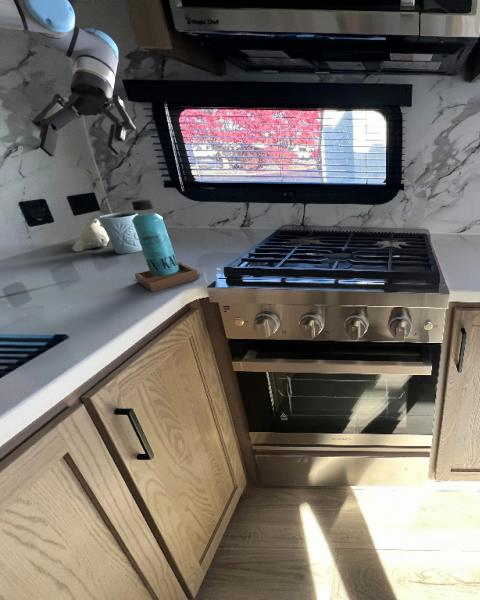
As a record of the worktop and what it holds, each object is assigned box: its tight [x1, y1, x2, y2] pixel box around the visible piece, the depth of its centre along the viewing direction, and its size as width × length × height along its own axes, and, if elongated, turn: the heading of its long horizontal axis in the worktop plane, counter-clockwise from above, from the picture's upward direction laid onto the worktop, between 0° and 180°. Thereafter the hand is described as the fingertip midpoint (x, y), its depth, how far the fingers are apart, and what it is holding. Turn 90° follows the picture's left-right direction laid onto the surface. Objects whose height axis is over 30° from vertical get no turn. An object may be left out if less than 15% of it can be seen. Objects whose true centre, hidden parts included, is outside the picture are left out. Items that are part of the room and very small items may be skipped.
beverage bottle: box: [131, 199, 179, 276], centre depth 84 cm, size 6×7×20 cm
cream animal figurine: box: [71, 218, 110, 253], centre depth 118 cm, size 15×7×15 cm
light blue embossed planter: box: [99, 211, 143, 255], centre depth 112 cm, size 10×10×12 cm
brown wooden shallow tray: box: [134, 262, 200, 293], centre depth 88 cm, size 11×11×2 cm
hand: (80, 151), depth 77 cm, fingers open, 13 cm apart
